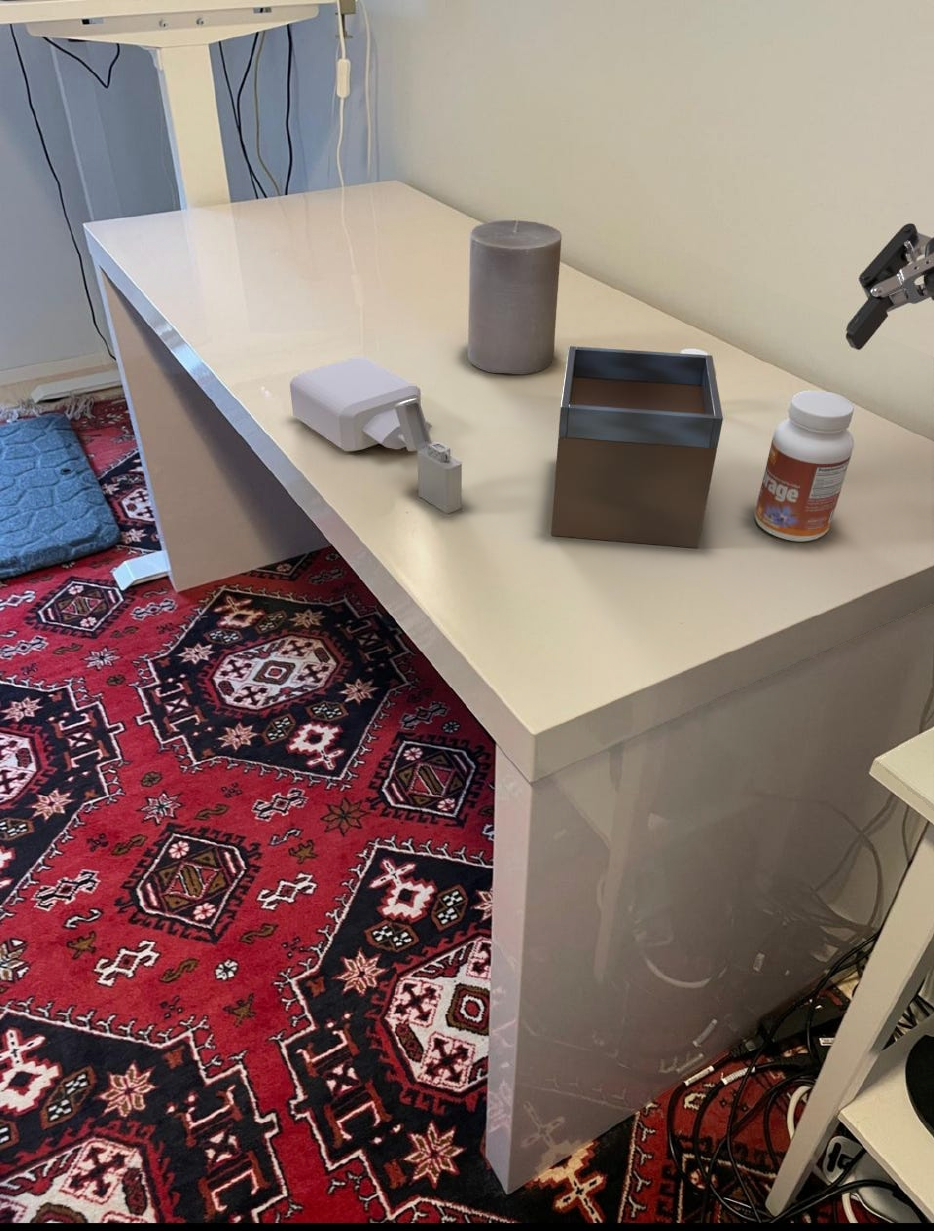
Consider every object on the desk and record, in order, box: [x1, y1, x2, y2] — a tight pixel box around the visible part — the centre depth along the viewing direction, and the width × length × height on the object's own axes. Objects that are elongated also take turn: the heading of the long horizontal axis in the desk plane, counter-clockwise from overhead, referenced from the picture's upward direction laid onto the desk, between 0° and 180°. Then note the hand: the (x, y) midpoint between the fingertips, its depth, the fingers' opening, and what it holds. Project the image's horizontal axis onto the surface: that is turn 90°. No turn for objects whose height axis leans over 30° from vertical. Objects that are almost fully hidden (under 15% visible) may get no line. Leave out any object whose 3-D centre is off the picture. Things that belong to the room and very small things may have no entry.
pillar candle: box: [467, 219, 563, 375], centre depth 103 cm, size 10×10×15 cm
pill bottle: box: [754, 389, 855, 542], centre depth 77 cm, size 6×6×11 cm
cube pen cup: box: [550, 345, 724, 549], centre depth 79 cm, size 12×12×12 cm
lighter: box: [395, 398, 463, 515], centre depth 81 cm, size 7×2×8 cm, turn 40°
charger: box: [289, 356, 433, 452], centre depth 91 cm, size 5×9×15 cm
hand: (894, 361), depth 76 cm, fingers open, 8 cm apart
